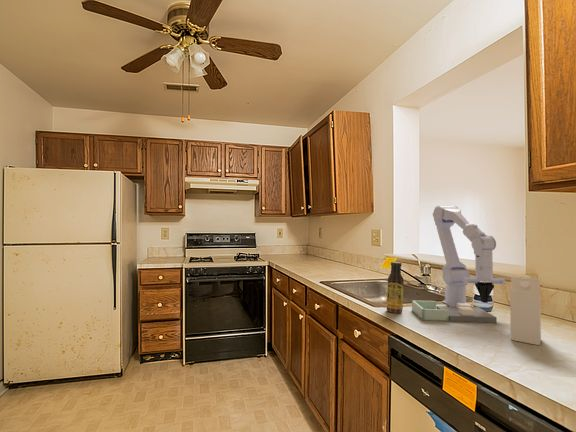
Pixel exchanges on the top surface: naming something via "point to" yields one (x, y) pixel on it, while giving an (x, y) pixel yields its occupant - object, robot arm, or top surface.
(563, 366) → the top surface
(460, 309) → the tile
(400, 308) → the sauce bottle
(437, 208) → the robot arm
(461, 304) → the tile
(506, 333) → the top surface
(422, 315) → the tray
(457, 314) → the board
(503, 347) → the top surface
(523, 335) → the milk carton
